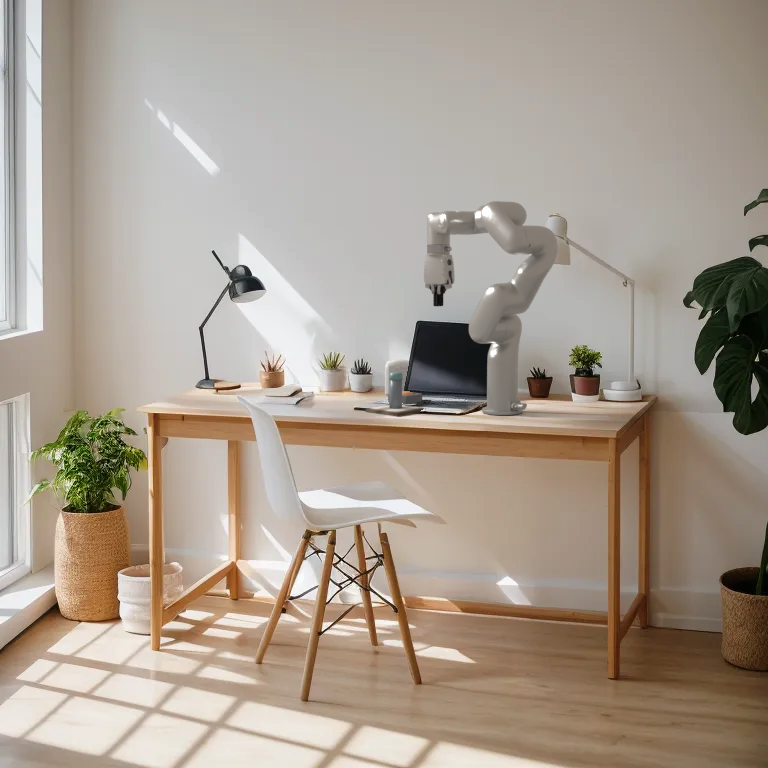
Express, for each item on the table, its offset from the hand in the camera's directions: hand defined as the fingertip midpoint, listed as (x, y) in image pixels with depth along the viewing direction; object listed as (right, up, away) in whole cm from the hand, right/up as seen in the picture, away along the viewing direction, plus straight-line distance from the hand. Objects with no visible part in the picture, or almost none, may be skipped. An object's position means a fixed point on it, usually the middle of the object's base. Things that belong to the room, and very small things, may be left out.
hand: (438, 306), depth 330 cm
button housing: (-11, -33, -1) cm, 35 cm away
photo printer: (-13, -30, +22) cm, 39 cm away
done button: (-11, -31, -2) cm, 33 cm away
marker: (-14, -33, -16) cm, 40 cm away
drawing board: (-14, -35, -16) cm, 41 cm away
